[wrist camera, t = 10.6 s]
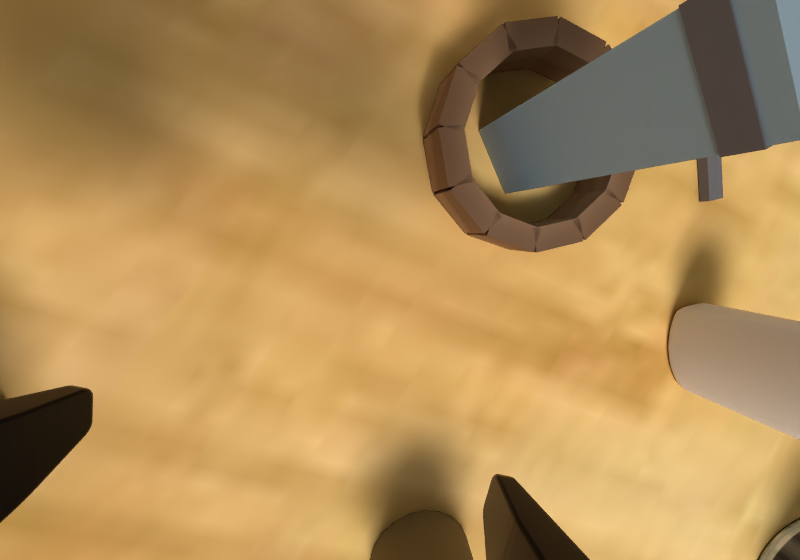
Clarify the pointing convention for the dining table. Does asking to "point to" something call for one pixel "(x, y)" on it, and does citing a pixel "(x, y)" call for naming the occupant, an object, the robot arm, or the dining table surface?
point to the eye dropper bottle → (740, 362)
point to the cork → (423, 539)
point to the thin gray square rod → (710, 178)
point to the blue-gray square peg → (661, 98)
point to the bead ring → (447, 148)
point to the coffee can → (784, 544)
